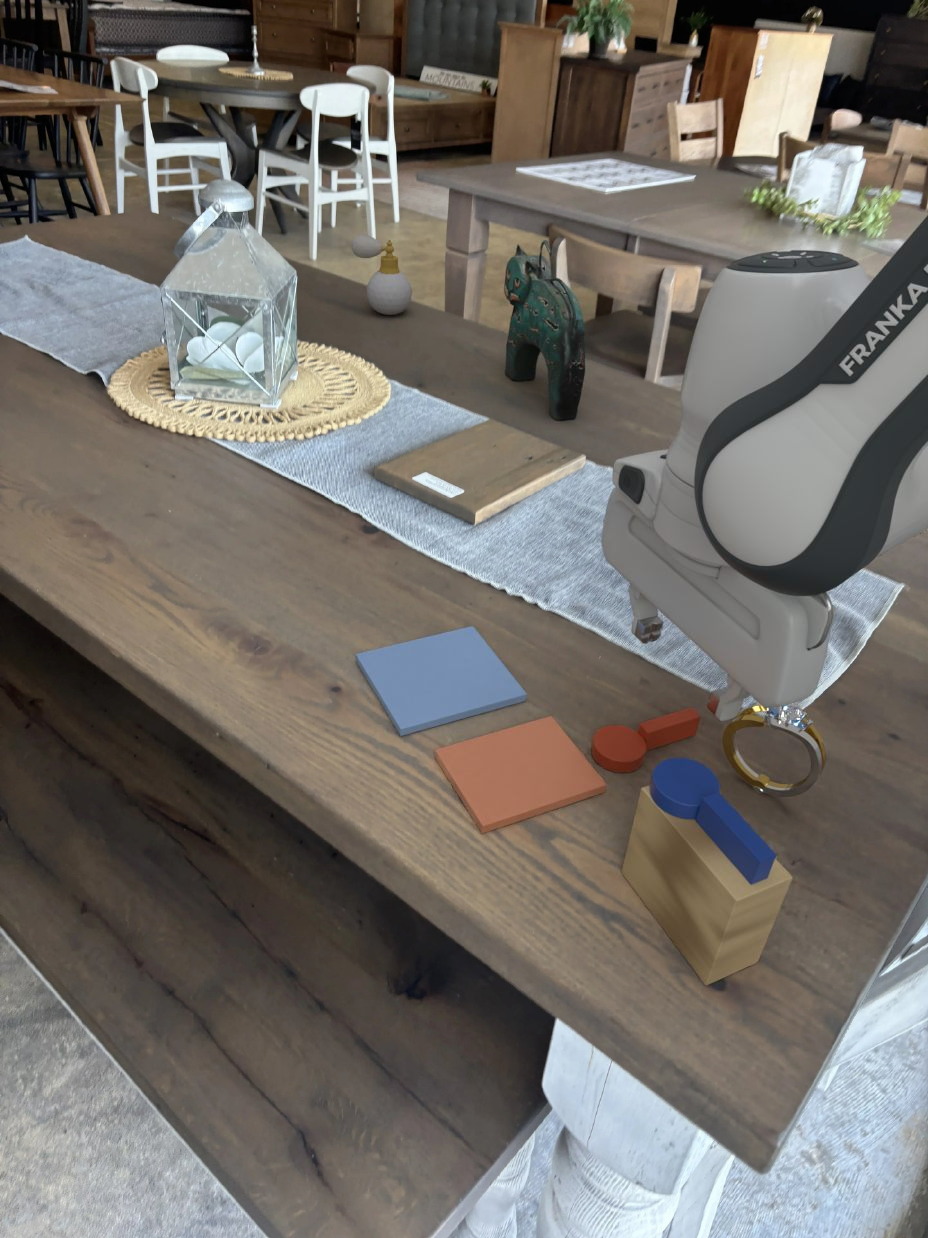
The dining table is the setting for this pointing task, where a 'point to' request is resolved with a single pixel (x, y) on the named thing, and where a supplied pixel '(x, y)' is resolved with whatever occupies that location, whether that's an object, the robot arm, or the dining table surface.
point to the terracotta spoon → (640, 739)
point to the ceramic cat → (545, 331)
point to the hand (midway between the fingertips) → (681, 673)
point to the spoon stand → (700, 892)
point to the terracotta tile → (518, 773)
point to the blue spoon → (710, 814)
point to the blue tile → (439, 679)
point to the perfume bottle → (384, 277)
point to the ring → (786, 721)
